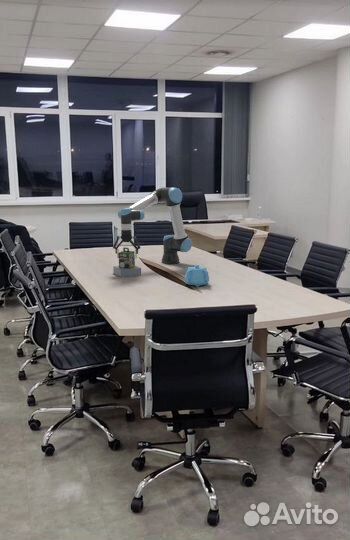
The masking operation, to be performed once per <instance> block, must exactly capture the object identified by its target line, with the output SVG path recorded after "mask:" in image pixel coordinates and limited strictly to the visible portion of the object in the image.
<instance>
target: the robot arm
mask: <svg viewBox="0 0 350 540" xmlns="http://www.w3.org/2000/svg"><path fill="white" fill-rule="evenodd" d="M182 200H183V192H182V191H181V190H180V188H177V187H164V186H163V187H160V188H158V189H155V190H153V191H152V192H150V193H149V194H148V195H147V196H145V197H143V198H142V199H140V200H138V201H137V202H135V203H133V204H132V205H129V206H128V207H124V208H121V209H119V210H118V211H117V217H118V218H119V220H120V228H121V230H120V231H121V233H120V234H121V235H117V236H116V239H115V241H114V244H113V246H112V249H114V250H115V254H116V259H119V251H120V249H119V247H120V246H121V245H122V244H123V243H130V244H131V245H132V246H133V248H134V249H135V250H134V252H135V260H136V259H137V258H138V257H137V256H138V254H139V250H140V249H141V245H140V243H139V242H138V239H137V236H136V235H134V236H132V235H133V234H132V228H133V227H132V221H133V222H135V221H142V220H144V219H145V212H144V210H146V209H147V208H149V207H151V206H152V205H156V204H157V205H158V203H165V205H166V207H167V208H168V210H169V215H170V219H171V224H172V228H173V232H174V234H171V235H169V234H168V235H164V237H163V240H162V241H163V243H162V245H163V254H162V258H161V264H166V265H168V264H170V265H173V264H179V263H180V258H179V255H178V252H179V253H180V252H181V253H188V252H189V251H190V250H191V249H192V246H193V241H192V239H191V238H190V237H189V236H188V234H187V233H186V229H185V226H184V220H183V217H182V212H181V207H180V205H181V202H182ZM120 239H121V241H120V242H119V240H120ZM132 239H133V240H134V242H133V240H132ZM118 242H119V243H118Z"/></svg>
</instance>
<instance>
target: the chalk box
mask: <svg viewBox="0 0 350 540" xmlns="http://www.w3.org/2000/svg"><path fill="white" fill-rule="evenodd" d="M118 266H119V268H132V267H134V266H136V259H135V250H133V251H132V250H130V248H129V247H125V246H123V248H122V251H120V252H119V258H118Z"/></svg>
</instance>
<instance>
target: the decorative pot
mask: <svg viewBox="0 0 350 540" xmlns="http://www.w3.org/2000/svg"><path fill="white" fill-rule="evenodd" d="M184 281H185V283H186V285H187V284H188V286H195V287H197V288H198V287H200V286H206V285H207V284H208V283H209V282H210V275H209V270H207V267H205V266H200V264H194V266H188V267H186V268H185V276H184Z"/></svg>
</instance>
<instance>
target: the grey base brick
mask: <svg viewBox="0 0 350 540" xmlns="http://www.w3.org/2000/svg"><path fill="white" fill-rule="evenodd" d="M112 271H113V274H114V275H115V274H116V276H117V277H120V278H130V277H138V276H142V267H140V266H138V265H135V266H134V267H132V268H119V265H113V268H112Z"/></svg>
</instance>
